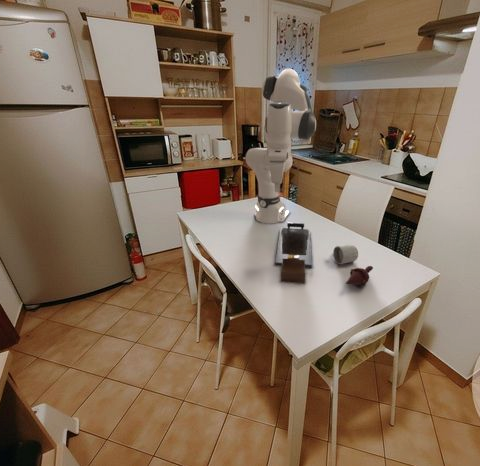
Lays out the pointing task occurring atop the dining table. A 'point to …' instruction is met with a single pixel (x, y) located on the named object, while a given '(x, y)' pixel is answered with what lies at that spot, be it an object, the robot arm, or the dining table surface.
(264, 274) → the dining table surface
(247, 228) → the dining table surface
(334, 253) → the ceramic mug
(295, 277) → the dark brown block
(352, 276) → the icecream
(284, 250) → the tip dish
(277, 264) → the tray
